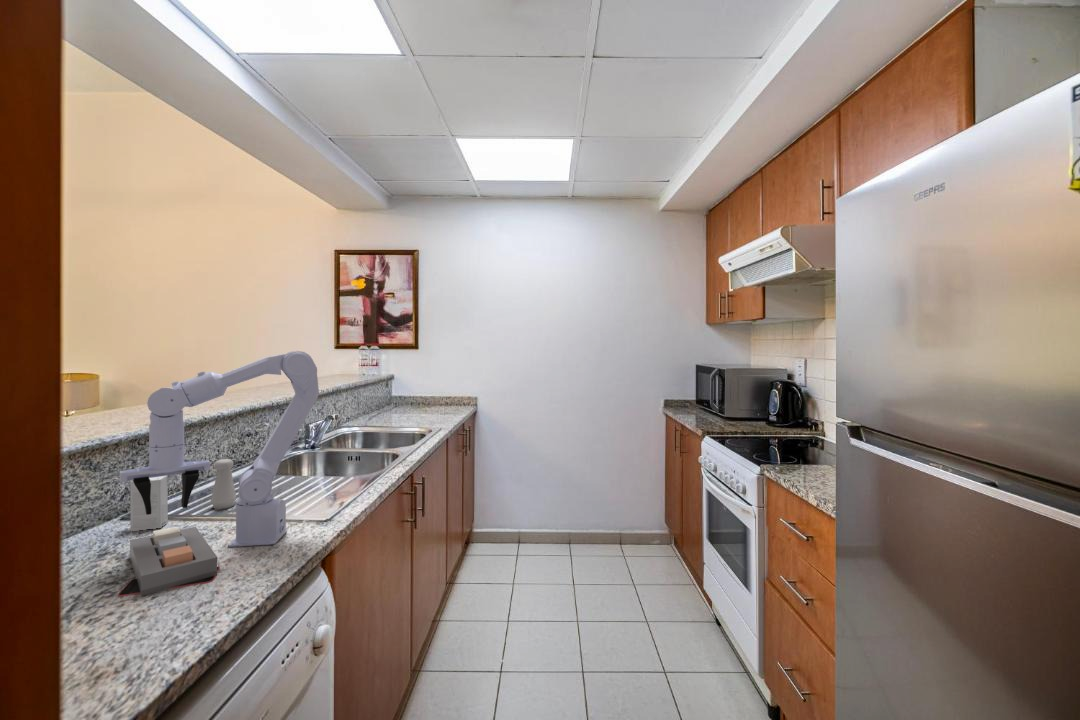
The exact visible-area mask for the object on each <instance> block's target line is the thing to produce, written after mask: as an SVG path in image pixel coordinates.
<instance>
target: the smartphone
mask: <svg viewBox="0 0 1080 720" xmlns="http://www.w3.org/2000/svg"><path fill="white" fill-rule="evenodd" d="M220 570H221V568H220V566H217V575H218V573H219V572H220ZM216 577H217V576H216V575H215V576H211V577H208V578H204V579H200V580H197V581H193V582H190V583H186V584H182V585H179V586H175V587H171V588H168V589H166V590H171V589H178V588H185V587H192V586H197V585H205V584H208V583H212V582H213V581H215V579H216ZM166 590H165V591H166ZM134 595H141V594H140V590H139V586H138V583H137V579H136V578H133V579H131V580H130V581H129V582H128V583H127V584H126V585H124V587H123V588H122V589H121V590H120V591H119V592H118V594H117V597H121V598H122V597H128V596H134Z"/></svg>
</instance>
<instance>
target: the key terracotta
mask: <svg viewBox="0 0 1080 720" xmlns="http://www.w3.org/2000/svg"><path fill="white" fill-rule="evenodd" d="M192 560H193V551H192V549H191V548H190V546H189V545H188V546H183V547H179V548H175V549H170V550H166V551H162V565H163V567H168V566H172V565H176V564H180V563H184V562H188V561H192Z"/></svg>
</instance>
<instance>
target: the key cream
mask: <svg viewBox="0 0 1080 720" xmlns="http://www.w3.org/2000/svg"><path fill="white" fill-rule="evenodd" d="M180 530H181V529H180V527H178V525H177V526H171V527H168V528H167V527H166V528H161V529H155V530H153V532H152V535H153V544H154V545H156V544H158V540H163V539H168V538H172V537H177V536H180Z"/></svg>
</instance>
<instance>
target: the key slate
mask: <svg viewBox="0 0 1080 720" xmlns="http://www.w3.org/2000/svg"><path fill="white" fill-rule="evenodd" d="M183 546H186V540H185V538H184V536H183V535H182V536H177V537H172V538H168V539H163V540H158V555H162V551H166V550H170V549H175V548H179V547H183Z"/></svg>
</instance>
